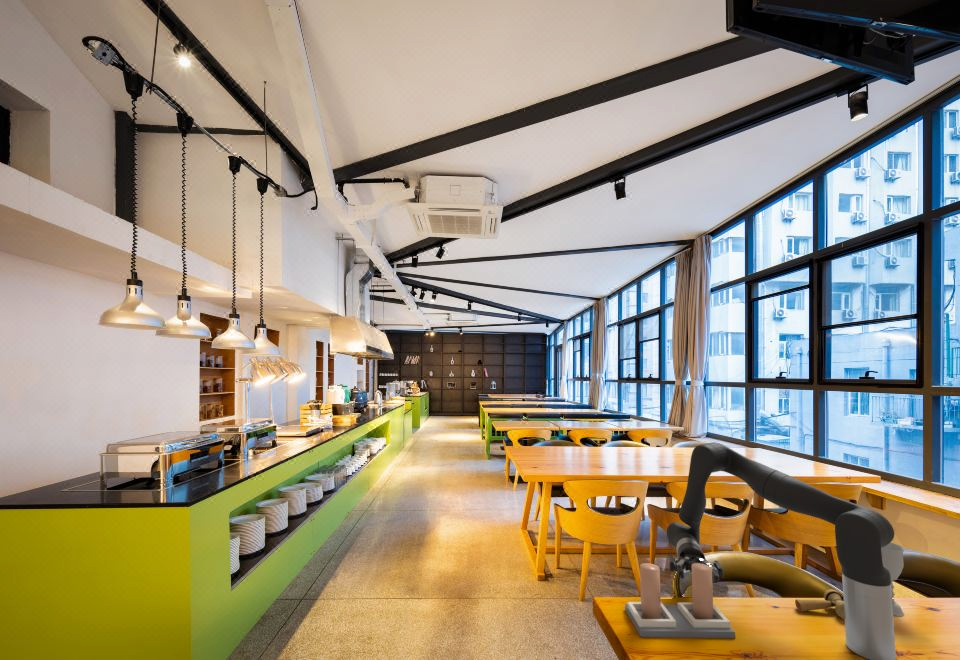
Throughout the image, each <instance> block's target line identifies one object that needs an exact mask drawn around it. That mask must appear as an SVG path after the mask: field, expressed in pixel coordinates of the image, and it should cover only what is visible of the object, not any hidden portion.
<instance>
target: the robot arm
mask: <svg viewBox="0 0 960 660" xmlns="http://www.w3.org/2000/svg"><path fill="white" fill-rule="evenodd" d="M690 456H691V457H690V462H689V470H688V477H687V483H686V490H685V493H684V497H683V500H682V502H681V506H680V508H679V512H678V518H679V519H680V521H681V522H682V523H680V522H676V521H674V522H670V523H669V524H668V526H667V528H666V538H667V540H668V541H669V543H670V545H672V546H673V547H674V549H676V556H677V558H676V557H674V555H672V554H670V555H668V565H669V566H668V568H669V571H670V572H672V573H673V572H676V573H677V576H678V577H680V579H684V577H685V575H684V574H685V573H688V572H689V573H692V564H694V563H701V564H705V565H708V566H710V567H711V568H712V582H713V583H715V584H718V583H719V582H720V579H724V568H723V566H722V565H721V564H720V561H719V560H714V561H713V562H709V560H708V559H706V556H705V553H704V552H703V550H702V547H701V545H700V543H701V541H700V536H701V535H700V533H701V532H700V530H701V528H700V527H701V522H702V519H703V516H704V513H705V511H706V507H707V495H706V486H707V485H706V484H707V482H708V479H710V476H711V475H712V474H713V473H717V472H724V473H727V474H729V475H732V476H734V477H736V478H738V479H740V480H741V481H743V482H745V484H747V486H748V487H750V489H751V490H752V491H753V492H754V493H755V494H757V496H759V497H760V498H762V499H764V500H766V501H768V502H770V503H771V504H774V505H776V506H778V507H780V508H783V509H785V510H788V511H791V512H793V513H798V514H801V515H805V516H808V517H809V516H810V517H813V518H818V519H820V520H822V521H825V522H828V523H830V524H832V525H834V537H835V539H834V540H835V546H836V547H835V549H836V554H837V559H838V562H839V564H840V566H841V578H842V580H841V581H842V594H843V595H842V597H843V598H844V615H845V619H844V629H845V630H844V631H845V644H846V646H847V648H848V649H849V650H850V651H852V652H853V653H855V654H856V655H859V656H860V657H862V658H865V659H866V660H897V655H896V640H895V639H896V638H895V622H894V615H893V605H892V591H891V576H890V572H889V571H888V569H886V568H885V567H883V561H882V552H881V548H882V547H884V546H886V545H888V544H889V543H892V542H893V541H894V538H895V530H894V527H893V525H892V524H891V521H889V520H888V518H886V517H885V516H883V515H882V514H881V513H879V512H878V511H876V510H873V509H872V508H868V507H866V506H863V505H859V504H856V503H855V502H851V501H849V500H845V499H842V498H839V497H836V496H834V495H833V494H830V493H827V492H825V491H824V490H821V489H819V488H817V487H815V486H812V485H810V484H808V483H806V482H804V481H801V480H799V479H797V478H795V477H793V476H791V475H789V474H786V473H784V472H782V471H779V470H777V469H774V468H772V467H769V466H767V465H765V464H763V463H761V462H758V461H756V460H753V459H751V458H748V457H746V456H744V455H743V454H741V453H739V452H738V451H735V450H734V449H733V448H731V447H728V446H726V445H725V444H722V443H720V442H708V443H702V444H698V445H696V446H694V448H693V450H692V452H691V455H690Z"/></svg>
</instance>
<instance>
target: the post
mask: <svg viewBox="0 0 960 660" xmlns="http://www.w3.org/2000/svg"><path fill="white" fill-rule="evenodd" d="M691 592H692V593H691V594H692V595H691V596H692V602H691V603H692V606H693V617H694V618H695V619H713V605H714V598H713V596H714V595H713V594H714V593H713V579H712V568H711V567H710V566H708V565H705V564H701V563H694V564H692V572H691Z"/></svg>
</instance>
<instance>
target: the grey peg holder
mask: <svg viewBox="0 0 960 660" xmlns="http://www.w3.org/2000/svg"><path fill="white" fill-rule="evenodd" d="M639 571H640V572H639V573H640V575H639V578H640V601H628V602H627V604H624V611H625V612H626V614H627V616H628V617H629V619H630V621H631V622H632V624H633V626H634V628H635V630H636V631H637V633H638V634H639V636H640V637H641V638H680V639H681V638H688V639H689V638H690V639H695V638H697V639H699V638H700V639H702V638H703V639H704V638H705V639H706V638H707V639H711V638H712V639H715V638H716V639H736V631H735V630H734V629H733V628H732V627H731V621H730V620H729V619H728V618H727V617H726V616H725V614H723V613H722V612H721V611H720V610H719V608H718V607H717V606H716V605H715V604H713V619H695V618H694V617H693V606H692V602H687V601H685V602H683V601H682V602H680V601H679V602H677V604H664V603H663V602H662V601H661V600H662V599H661V571H660V567H659V565H657V564H653V563H650V562H645V563H640V565H639Z"/></svg>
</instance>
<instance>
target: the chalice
mask: <svg viewBox="0 0 960 660" xmlns="http://www.w3.org/2000/svg"><path fill="white" fill-rule="evenodd" d="M905 550H906V548H905V547H904V546H903V545H900V544H897V543H894V542H893V543H892V542H890V543H889V544H888V545H886V546H884V547H882V548H881V552H882V561H883V567H885V568H886V569H888V571H889V572H890V576H891V591H892V598H894V596H895V595H896V593H895V592H894V588H895V585H894V584H893V581H897V580H898V578H899V577H900V575H901V574H902V572H903V568H904V565H905V564H904V552H905ZM892 605H893V616H897V617H903V616H905V613H904V611H903V609H902V608H901V605H900V604H899V603H898V602H896V600H895V598H894V599H892Z"/></svg>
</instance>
